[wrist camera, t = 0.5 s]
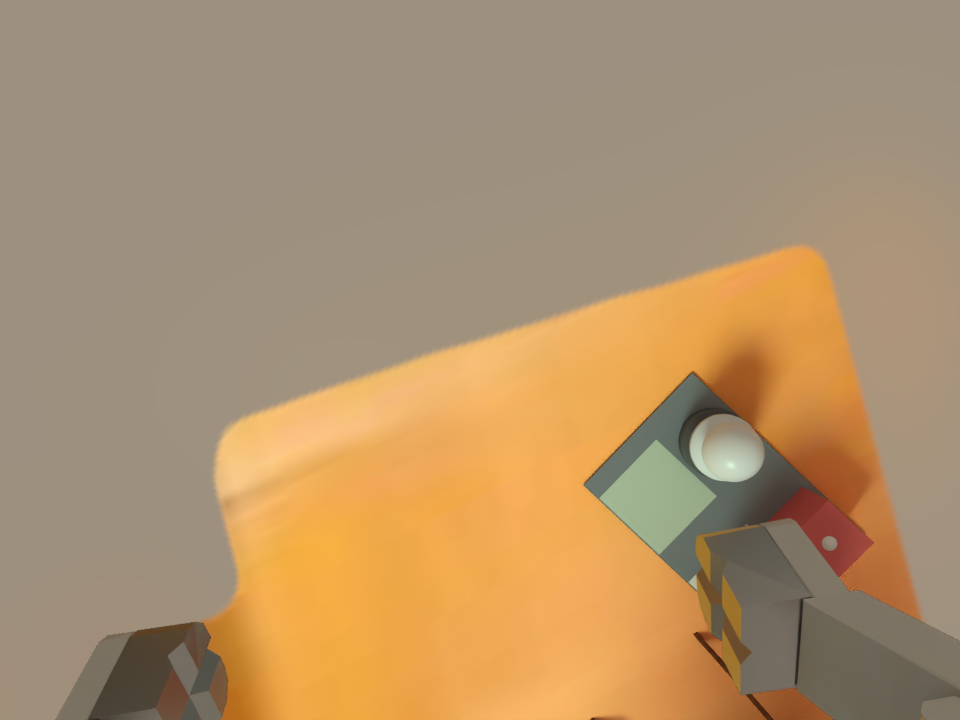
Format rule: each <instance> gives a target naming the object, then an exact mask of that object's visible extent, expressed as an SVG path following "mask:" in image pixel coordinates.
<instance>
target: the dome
mask: <svg viewBox="0 0 960 720" xmlns="http://www.w3.org/2000/svg"><path fill="white" fill-rule="evenodd" d="M689 451H690V456H691V459H692V461H693V463H694V464H695V466H696V467H697V468H698V469H699V470H700V471H701V472H702V473H703V474H705V475H706V476H708V477H710V478H712V479H715V480H718V481H729V482H740V481H744V480H747V479H749V478H751V477H752V476H754V475H755V474H756V473H757V472H758V471H759V470H760V468H761V466H762V464H763V461H764V456H765V452H764V446H763V443H762V441H761V439H760V437H759V436H758V434H757V433H756V432H755V431H754V429H753V428H752V427H751V426H750V425H749V424H748V423H747V422H746V421H744V420H743V419H741V418H739V417H736V416H733V415H729V414H717V415H713V416H710V417H708V418H706V419H704V420H703V421H701V422H700V423H699V424H698V425H697V426H696V428H695V429H694V431H693V433H692V435H691V438H690V442H689Z"/></svg>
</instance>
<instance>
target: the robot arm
mask: <svg viewBox="0 0 960 720" xmlns="http://www.w3.org/2000/svg"><path fill="white" fill-rule="evenodd" d="M696 555H697V557H698V560H699V562H700V564H701V566H702V568H701V569H700V571H699V572H698V573H697V575H696V578H697V592H698V596H699V601H700V606H701V610H702V612H703V615H704V618H705V621H706V623H707V625H708V628H709V630H710V632H711V634H712V635H713V636H715V637H717V638H718V639H720V640H721V641H722V650H723V660H724V662H725V664H726V666H727V668H728V670H729V672H730V674H731V677H732V679H733V681H734V683H735V685H736V687H737V689H738V691H739V693H740V695H745V694H753V693H760V692H767V691H774V690H781V689H788V688H796V687H797V691H798V692H800V693H801V694H802V695H803V696H805V697H806V698H807V699H809V700H810V701H811V702H812V703H814V704H815V705H816V706H817V707H819V708H820V709H821V710H822V711H824V712H825V713H826V714H827V715H829V716H830V717H831V718H832V719H834V720H960V641H959V640H957V639H955V638H953V637H951V636H949V635H947V634H945V633H943V632H941V631H939V630H937V629H935V628H933V627H931V626H929V625H927V624H925V623H923V622H921V621H919V620H917V619H915V618H913V617H911V616H909V615H908V614H906V613H904V612H902V611H900V610H898V609H896V608H894V607H892V606H890V605H888V604H886V603H884V602H882V601H880V600H878V599H876V598H874V597H872V596H870V595H868V594H866V593H864V592H862V591H860V590H857V591H849V590H848V589H847V588H846V586H845V585H844V584H843V582H842V581H841V580H840V578H839V577H838V576H837V574H836V573H835V572H834V571H833V569H832V568H831V567H830V565H829V564H828V563H827V561H826V560H825V559H824V557H823V556H822V555H821V554H820V552H819V551H818V550H817V548H816V547H815V546H814V544H813V543H812V542H811V540H810V539H809V538H808V537H807V535H806V534H805V533H804V531H803V530H802V529H801V527H800V526H799V525H798V523H797V522H796V521H794V520H792V519H791V518H787V519H782V520H776V521H771V522H766V523H760V524H759V525H750V526H745V527H739V528H734V529H728V530H723V531H717V532H712V533H706V534H701V535H697V539H696ZM210 638H211V636H210V635H209V633H208V631H207V629H206V627H205V625H204V624H203V623H200V622H191V623H184V624H177V625H171V626H164V627H157V628H150V629H144V630H137V631H136V632H128V633H121V634H113V635H107V636H106V637H105V638H104V639H102V640H101V641H100V642H99V643H98V644H97V646H96V648H95V650H94V652H93V653H92V655H91V657H90V659H89V660H88V662H87V664H86V666H85V667H84V669H83V671H82V673H81V675H80V677H79V678H78V680H77V682H76V684H75V685H74V687H73V689H72V691H71V693H70V695H69V696H68V698H67V700H66V702H65V703H64V705H63V707H62V709H61V711H60V712H59V714H58V716H57V718H56V719H55V720H220V719H221V718H222V716H223V713H224V709H225V706H226V702H227V691H228V679H227V674H226V669H225V666H224V663H223V661H222V659H221V657H220V656H219V655H217V654H215V653H214V652H212V651H210V650H208V649H207V647H208V644H209V641H210Z"/></svg>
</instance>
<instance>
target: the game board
mask: <svg viewBox="0 0 960 720" xmlns="http://www.w3.org/2000/svg"><path fill="white" fill-rule="evenodd" d="M717 414H729V415H733V416H736V417H739V416H738V415H737V414H736V413H735V412H734V411H733V410H731V409H730V408H729V407H728V406H727V405H726V404H725V403H724V402H723V401H722V400H721V399H720V398H719V397H718V396H716V395H715V394H714V393H713V392H712V391H711V390H710V389H709V388H708V387H707V386H706V385H705V384H704V383H703V382H701V381H700V380H699V379H698V378H697V377H696V376H695V375H694V374H693V373H691V374H690V375H689V376H688V377H687V378H686V380H685V381H684V382H683V383H682V384H681V385H680V386H679V387H678V388H677V389H676V390H675V391H674V392H673V393H672V394H671V395H670V396H669V397H668V398H667V399H666V400H665V401H664V402H663V403H662V404H661V405H660V406H659V407H658V408H657V409H656V411H655V412H654V413H653V414H652V415H651V416H650V417H649V418H648V419H647V420H646V421H645V422H644V423H643V424H642V425H641V426H640V427H639V428H638V429H637V430H636V431H635V432H634V433H633V434H632V435H631V436H630V437H629V438H628V439H627V440H626V442H625V443H624V444H623V445H622V446H621V447H620V448H619V449H618V450H617V451H616V452H615V453H614V454H613V455H612V456H611V457H610V458H609V459H608V460H607V461H606V462H605V463H604V464H603V465H602V466H601V467H600V468H599V469H598V470H597V472H596V473H595V474H594V475H593V476H592V477H591V478H590V479H589V480H588V481H587V482H586V483H585V484H584V486H585V487H586V488H587V489H588V490H589V491H590V492H591V493H592V494H594V495H595V496H596V497H597V498H598V499H599V500H600V501H601V502H602V503H603V504H604V505H605V506H606V507H607V508H608V509H609V510H611V511H612V512H613V513H614V514H615V515H616V516H617V517H618V518H619V519H620V520H621V521H622V522H623V523H624V524H625V525H626V526H628V527H629V528H630V529H631V530H632V531H633V532H634V533H635V534H636V535H637V536H638V537H639V538H640V539H641V540H642V541H643V542H645V543H646V544H647V545H648V546H649V547H650V548H651V549H652V550H653V551H654V552H655V553H656V554H657V555H658V556H659V557H660V558H662V559H663V560H664V561H665V562H666V563H667V564H668V565H669V566H670V567H671V568H672V569H673V570H674V571H675V572H676V573H677V574H679V575H680V576H681V577H682V578H683V579H684V580H685V581H686V582H687V583H688V584H689V585H690V586H691V587H692V588H693V589H694V590H696V591H697V578H696V575H697V573H698V572H699V571H700V569H701V568H702V566H701V564H700V562H699V560H698V557H697V555H696V539H697V535H701V534H706V533H712V532H717V531H723V530H728V529H734V528H739V527H745V526H750V525H759V524H760V523H766V522H768V521H769V520H770V519H771V518H772V517H773V516H774V515H775V514H776V513H777V512H778V511H779V510H780V509H781V508H782V507H783V506H784V505H785V504H786V503H787V502H788V501H789V500H790V499H791V498H792V497H793V496H794V495H795V494H796V493H797V492H798V491H799V490H800V489H801V488H802V487H804V488H806V489H808V490H810V491H812V492H814V493H816V494H817V495H819V496H821V497H823V498H825V499H827V498H826V497H825V496H824V495H823V494H822V493H820V492H819V491H818V490H817V489H816V488H815V487H814V486H813V485H812V484H811V483H810V482H809V481H808V480H807V479H805V478H804V477H803V476H802V475H801V474H800V473H799V472H798V471H797V470H796V469H795V468H794V467H793V466H792V465H790V464H789V463H788V462H787V461H786V460H785V459H784V458H783V457H782V456H781V455H780V454H779V453H778V452H777V451H775V450H774V449H773V448H772V447H771V446H770V445H769V444H768V443H767V442H766V441H765V440H764V439H763V438H762V437H760V436H759V435H758V436H759V437H760V439H761V441H762V443H763V446H764V452H765V456H764V461H763V464H762V466H761V468H760V470H759V471H758V472H757V473H756V474H755V475H754V476H752V477H751V478H749V479H747V480H744V481H740V482H729V481H718V480H715V479H712V478H710V477H708V476H706V475H705V474H703V473H702V472H701V471H700V470H699V469H698V468H697V467H696V466H695V464H694V463H693V461H692V459H691V456H690V451H689V442H690V438H691V435H692V433H693V431H694V429H695V428H696V426H697V425H698V424H699V423H700V422H701V421H703V420H704V419H706V418H708V417H710V416H713V415H717ZM739 418H741V417H739ZM741 419H742V418H741ZM827 500H828V499H827ZM836 508H837V507H836ZM837 509H838V508H837ZM838 510H839V509H838ZM839 511H840V510H839ZM851 522H852V521H851ZM852 523H853V522H852ZM853 524H854V523H853ZM854 525H855V524H854ZM865 535H866V534H865Z"/></svg>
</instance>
